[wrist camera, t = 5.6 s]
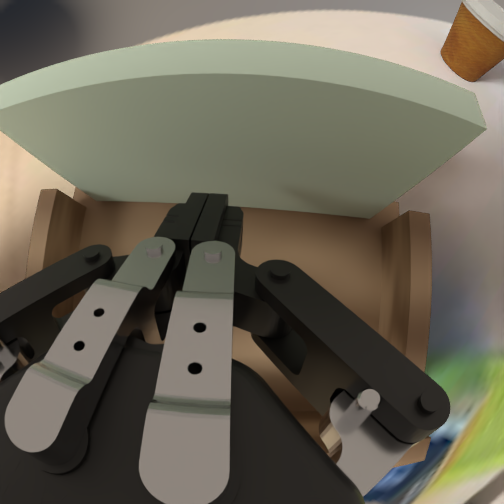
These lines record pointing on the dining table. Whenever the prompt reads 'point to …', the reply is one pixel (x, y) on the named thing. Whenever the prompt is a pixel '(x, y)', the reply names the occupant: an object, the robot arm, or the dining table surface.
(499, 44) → the disposable coffee cup
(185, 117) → the panel
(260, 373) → the drawer box
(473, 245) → the dining table surface
